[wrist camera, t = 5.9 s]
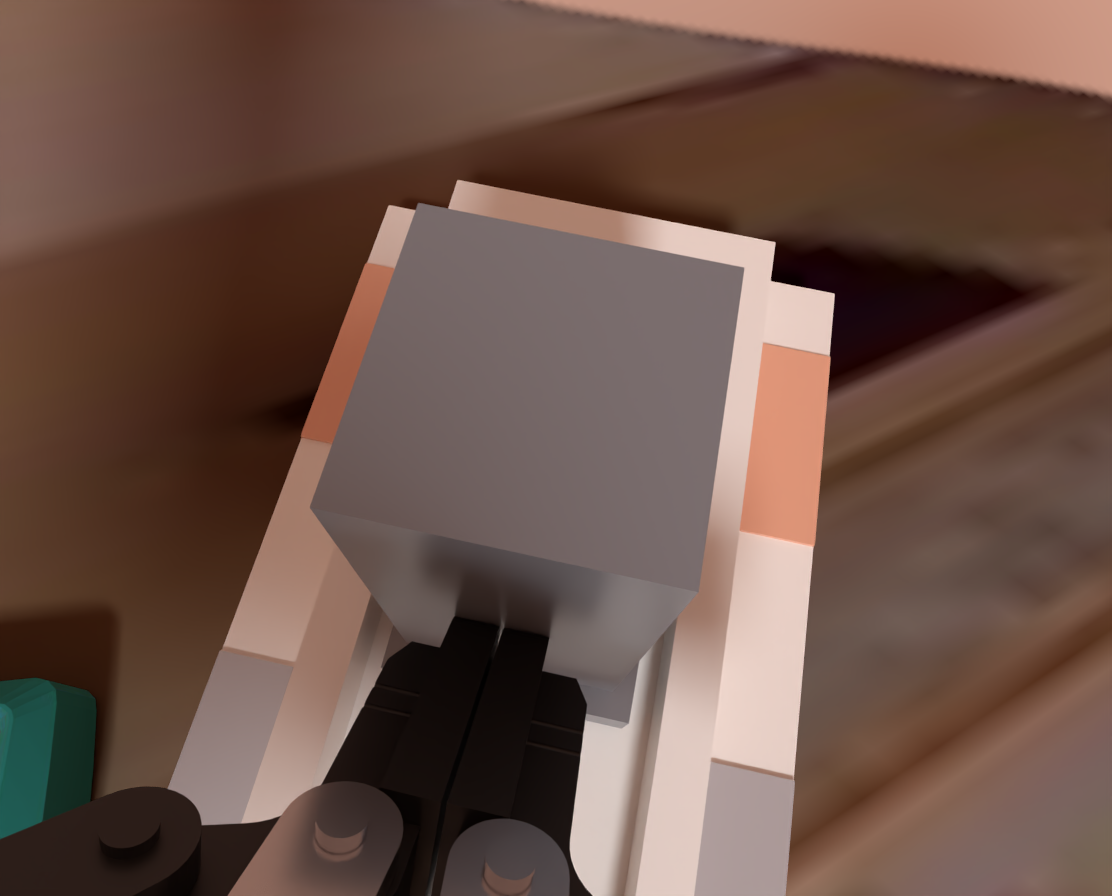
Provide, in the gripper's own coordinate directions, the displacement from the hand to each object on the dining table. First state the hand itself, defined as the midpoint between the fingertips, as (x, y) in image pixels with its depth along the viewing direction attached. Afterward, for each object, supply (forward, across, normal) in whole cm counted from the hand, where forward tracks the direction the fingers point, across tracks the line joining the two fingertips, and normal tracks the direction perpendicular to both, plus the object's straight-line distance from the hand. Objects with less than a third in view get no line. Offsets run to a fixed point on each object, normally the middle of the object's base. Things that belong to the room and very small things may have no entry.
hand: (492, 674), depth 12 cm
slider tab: (+5, 0, +1) cm, 5 cm away
